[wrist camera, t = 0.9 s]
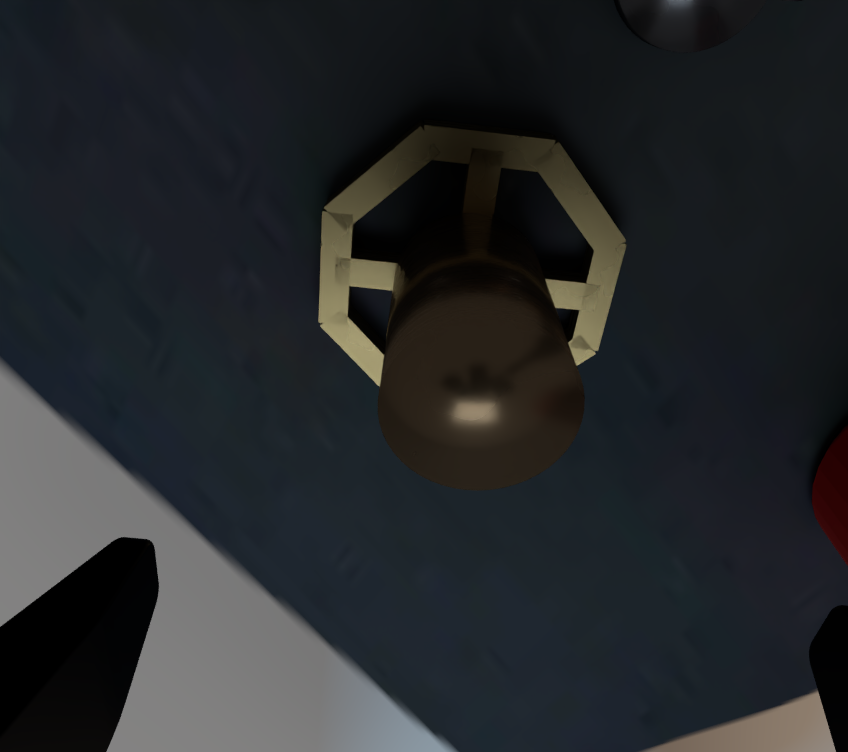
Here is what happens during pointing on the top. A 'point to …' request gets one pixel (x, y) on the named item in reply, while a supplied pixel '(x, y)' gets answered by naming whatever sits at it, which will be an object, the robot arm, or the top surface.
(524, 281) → the octagonal handwheel knob
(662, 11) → the zigzag metal pull handle
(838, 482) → the soda can
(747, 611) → the top surface
